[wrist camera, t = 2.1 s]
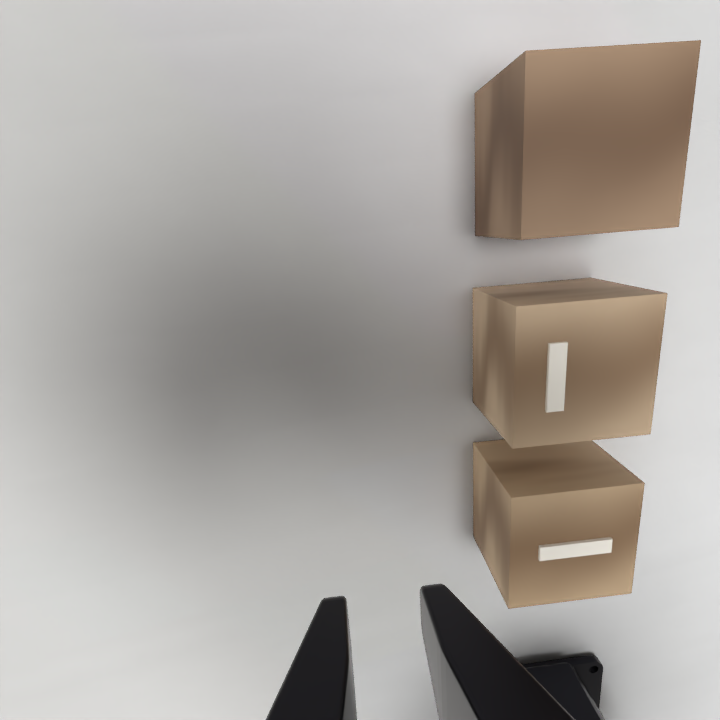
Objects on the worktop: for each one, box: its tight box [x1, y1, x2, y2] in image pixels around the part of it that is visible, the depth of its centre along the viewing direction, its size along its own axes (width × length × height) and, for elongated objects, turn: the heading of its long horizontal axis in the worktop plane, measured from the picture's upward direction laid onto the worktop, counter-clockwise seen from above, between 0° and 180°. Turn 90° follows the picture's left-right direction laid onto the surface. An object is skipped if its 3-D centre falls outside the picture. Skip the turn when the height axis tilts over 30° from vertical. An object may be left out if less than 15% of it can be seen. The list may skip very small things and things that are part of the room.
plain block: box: [475, 40, 701, 240], centre depth 16 cm, size 5×5×4 cm
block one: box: [473, 439, 645, 609], centre depth 20 cm, size 5×5×5 cm
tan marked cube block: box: [473, 278, 667, 449], centre depth 18 cm, size 5×5×5 cm
